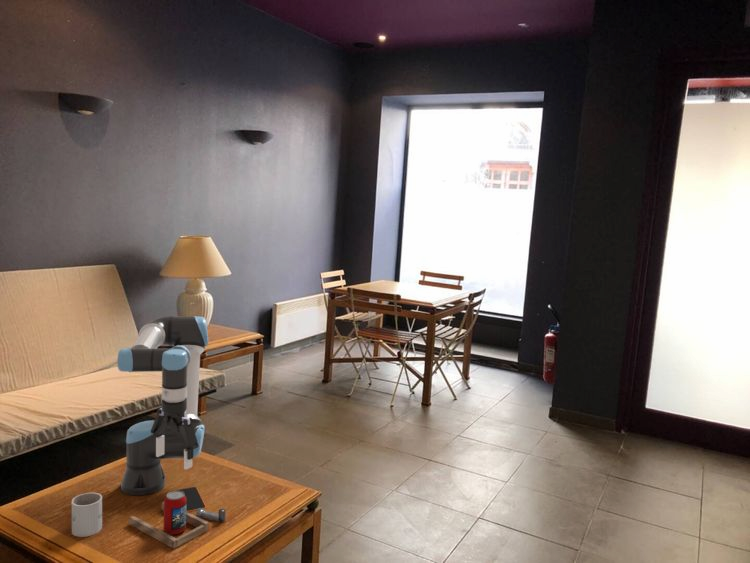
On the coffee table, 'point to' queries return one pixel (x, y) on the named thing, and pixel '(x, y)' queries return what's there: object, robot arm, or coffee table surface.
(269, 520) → the coffee table surface
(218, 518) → the crank handle
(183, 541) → the bay
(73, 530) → the mug
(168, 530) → the beverage can
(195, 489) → the smartphone
